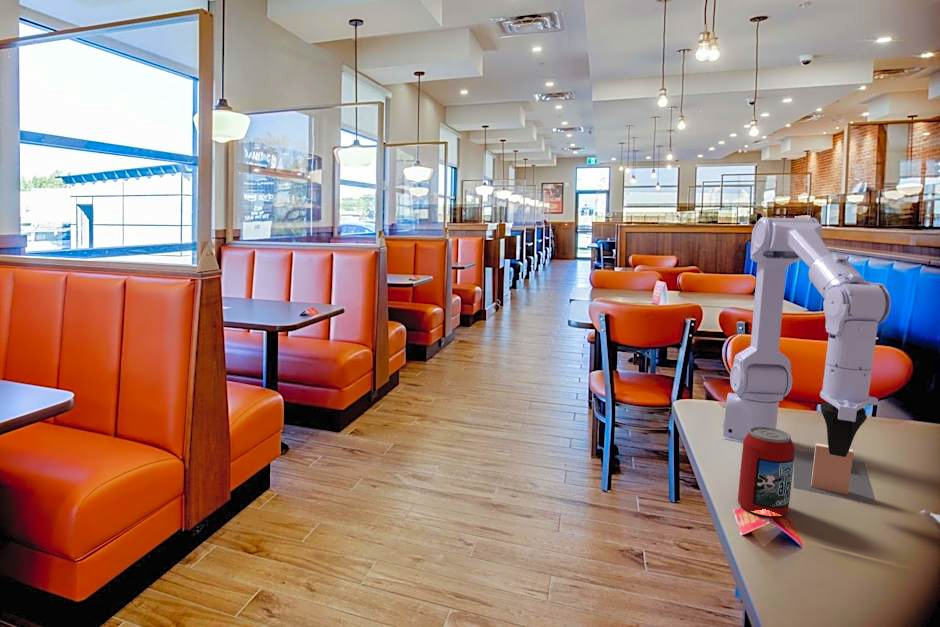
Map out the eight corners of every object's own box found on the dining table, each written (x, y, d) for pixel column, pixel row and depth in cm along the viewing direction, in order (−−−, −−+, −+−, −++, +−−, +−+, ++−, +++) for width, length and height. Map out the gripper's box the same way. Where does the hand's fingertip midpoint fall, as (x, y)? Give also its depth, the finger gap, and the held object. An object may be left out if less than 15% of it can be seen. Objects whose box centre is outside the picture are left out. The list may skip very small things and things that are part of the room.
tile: (811, 486, 93) (816, 445, 92) (811, 483, 94) (815, 442, 93) (847, 494, 90) (853, 452, 89) (847, 491, 92) (852, 449, 91)
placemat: (793, 489, 93) (793, 487, 92) (794, 451, 109) (794, 449, 109) (875, 507, 87) (876, 504, 87) (863, 464, 104) (864, 462, 103)
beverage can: (767, 525, 81) (776, 444, 79) (727, 504, 87) (734, 428, 85) (797, 515, 84) (807, 437, 82) (756, 496, 90) (764, 422, 88)
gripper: (888, 380, 76) (875, 477, 78) (875, 360, 88) (864, 444, 90) (825, 372, 79) (814, 466, 81) (822, 354, 92) (812, 435, 94)
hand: (837, 454), depth 86 cm, fingers closed
